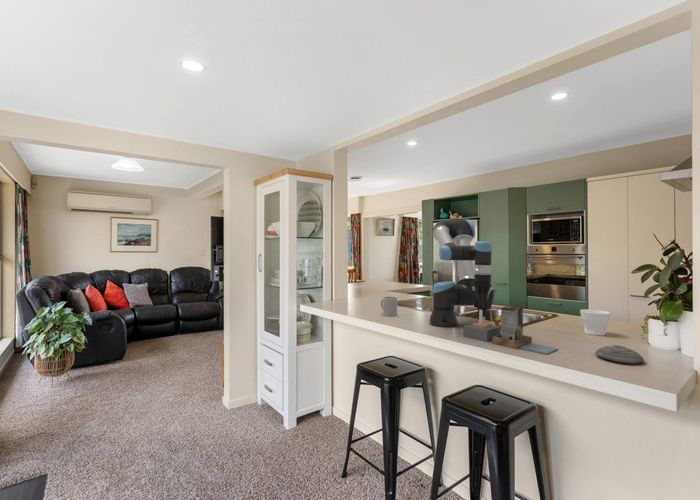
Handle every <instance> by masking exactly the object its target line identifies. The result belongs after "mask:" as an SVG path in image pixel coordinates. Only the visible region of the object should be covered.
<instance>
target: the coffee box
mask: <svg viewBox="0 0 700 500" xmlns="http://www.w3.org/2000/svg"><path fill="white" fill-rule="evenodd" d="M500 315H501V338H504V339H509V340H513V341H517V340H520V339H523V335H524V329H523V328H524V308H523V307H522V306H516V305H506V306H503V307H501V314H500Z"/></svg>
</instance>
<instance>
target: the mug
mask: <svg viewBox="0 0 700 500" xmlns="http://www.w3.org/2000/svg"><path fill="white" fill-rule="evenodd" d="M380 308H381V310H382V313H383V316H385V317H397V316H398V297H396V296H384V297H383V298H382V299H381V301H380Z"/></svg>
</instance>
